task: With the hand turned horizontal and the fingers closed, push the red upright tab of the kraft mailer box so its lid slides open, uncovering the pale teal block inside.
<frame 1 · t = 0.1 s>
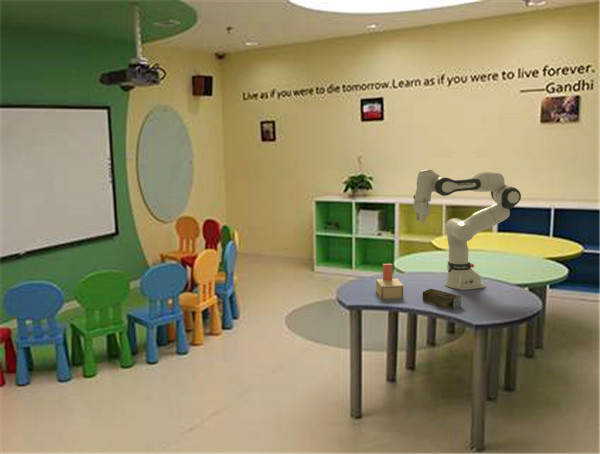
hand: (420, 221, 320), 39 cm above the table, tool pointing down, fingers open, 8 cm apart
teal block: (390, 296, 308), point 1 cm above the table, touching mailer box
mailer box: (389, 296, 311), on the table
lid: (389, 296, 311), resting on mailer box, slide at 0.0 cm
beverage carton: (441, 304, 296), on the table
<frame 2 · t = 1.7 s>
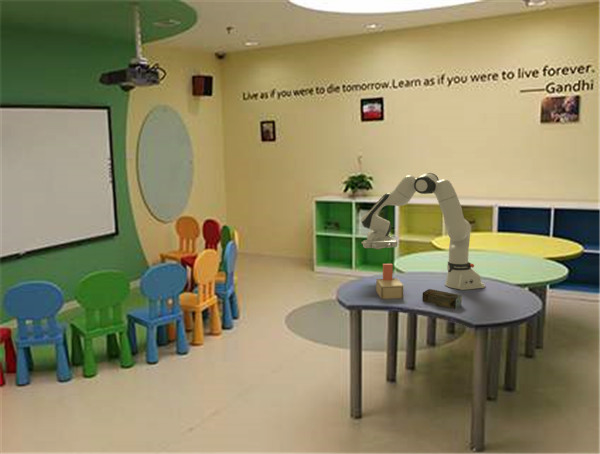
hand: (382, 246, 325), 24 cm above the table, tool horizontal, fingers open, 6 cm apart
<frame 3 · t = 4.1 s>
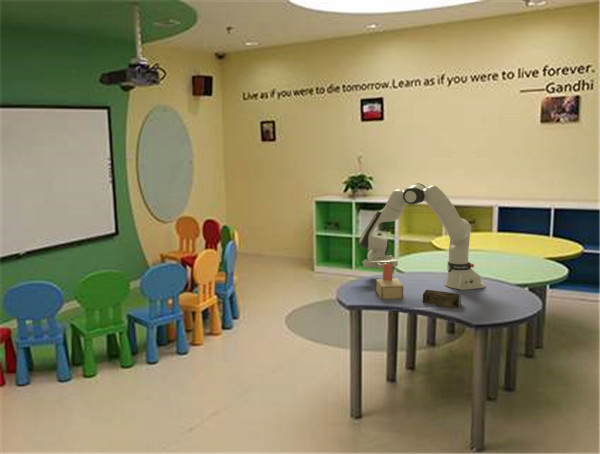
hand: (382, 266, 326), 12 cm above the table, tool horizontal, fingers closed
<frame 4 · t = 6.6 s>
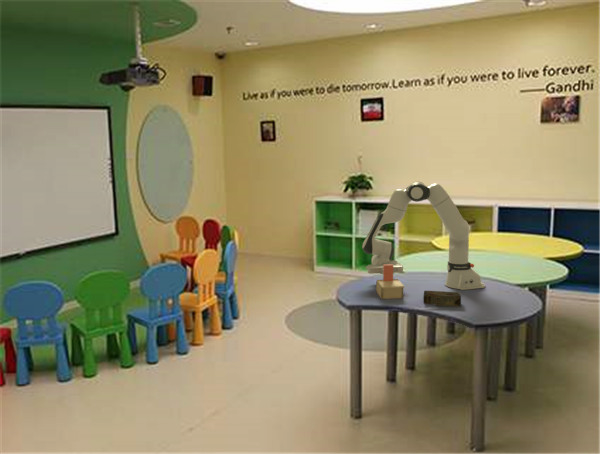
hand: (387, 272, 313), 12 cm above the table, tool horizontal, fingers closed, pressing on lid
lid: (390, 296, 310), resting on mailer box, slide at 1.5 cm, touching gripper
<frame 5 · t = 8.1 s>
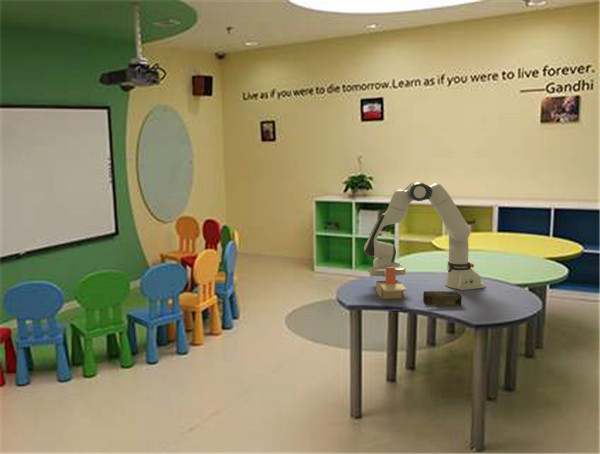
hand: (390, 275, 308), 12 cm above the table, tool horizontal, fingers closed, pressing on lid
lid: (392, 300, 304), resting on mailer box, slide at 7.3 cm, touching gripper
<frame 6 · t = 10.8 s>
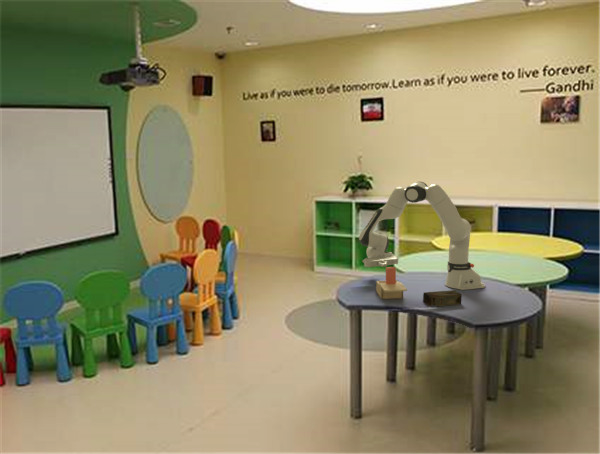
hand: (384, 265, 327), 13 cm above the table, tool horizontal, fingers closed
lid: (392, 300, 304), resting on mailer box, slide at 7.6 cm
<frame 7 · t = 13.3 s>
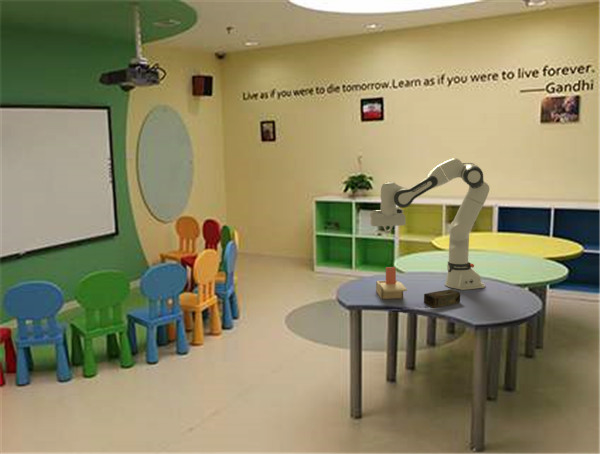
hand: (387, 233, 328), 31 cm above the table, tool pointing down, fingers closed
at the end: lid slide at 7.6 cm; the gripper is holding nothing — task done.
